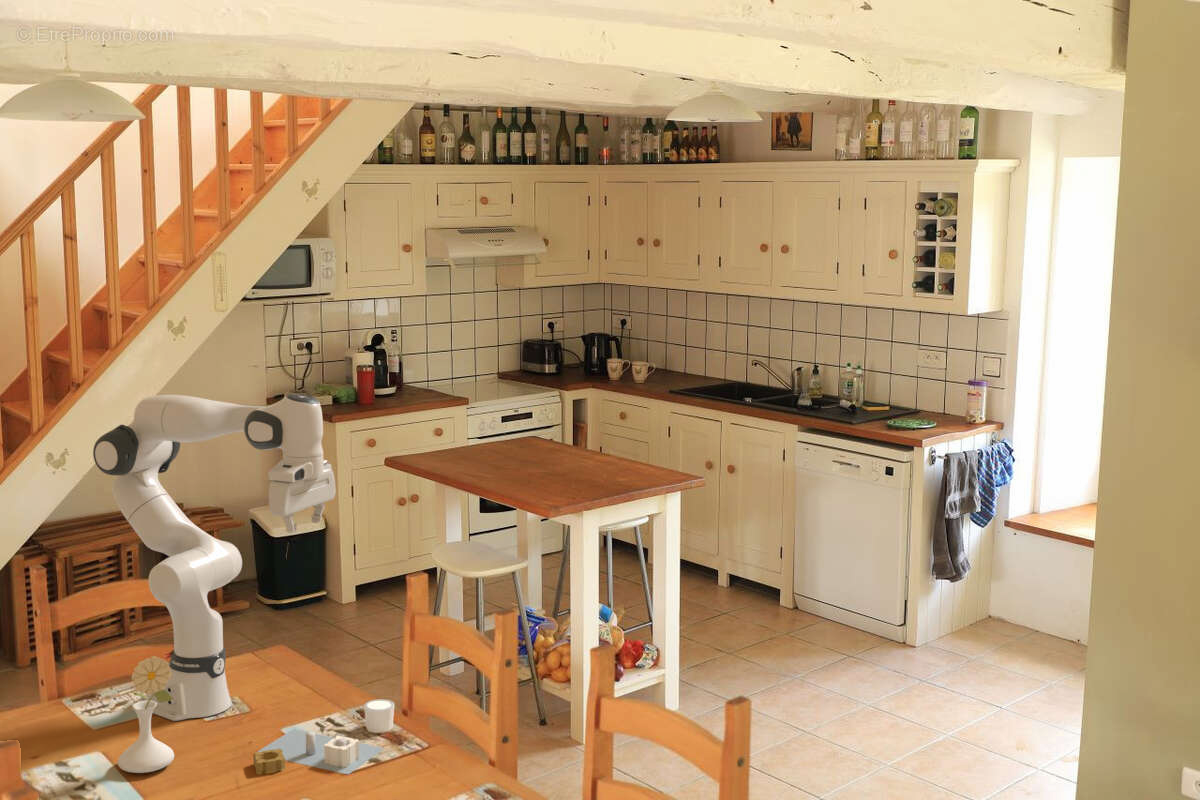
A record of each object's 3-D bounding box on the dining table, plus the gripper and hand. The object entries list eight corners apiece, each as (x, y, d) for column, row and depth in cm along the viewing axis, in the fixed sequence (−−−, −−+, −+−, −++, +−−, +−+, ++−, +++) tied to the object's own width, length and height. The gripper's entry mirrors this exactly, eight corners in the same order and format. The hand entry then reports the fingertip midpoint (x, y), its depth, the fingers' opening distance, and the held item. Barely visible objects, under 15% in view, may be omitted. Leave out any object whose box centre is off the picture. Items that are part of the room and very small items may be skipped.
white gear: (327, 770, 252) (327, 752, 251) (321, 756, 258) (321, 738, 258) (361, 764, 255) (361, 747, 254) (355, 751, 261) (355, 733, 261)
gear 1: (244, 777, 251) (244, 759, 250) (266, 763, 257) (266, 746, 257) (272, 784, 248) (272, 765, 248) (294, 769, 255) (293, 752, 254)
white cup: (388, 741, 270) (387, 711, 269) (359, 738, 271) (359, 708, 270) (399, 729, 277) (398, 700, 276) (371, 726, 278) (371, 697, 277)
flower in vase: (105, 772, 252) (101, 659, 248) (143, 751, 262) (139, 642, 259) (156, 783, 247) (152, 668, 244) (192, 761, 258) (189, 650, 254)
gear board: (254, 759, 259) (254, 733, 258) (294, 735, 272) (293, 710, 271) (348, 781, 250) (348, 754, 249) (384, 754, 263) (384, 728, 262)
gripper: (319, 457, 277) (319, 515, 279) (263, 473, 258) (264, 535, 260) (342, 460, 275) (342, 518, 277) (287, 476, 256) (288, 538, 258)
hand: (304, 526), depth 268 cm, fingers open, 8 cm apart
